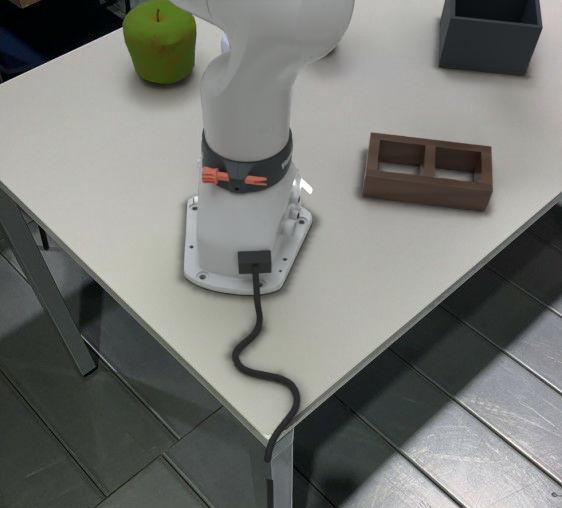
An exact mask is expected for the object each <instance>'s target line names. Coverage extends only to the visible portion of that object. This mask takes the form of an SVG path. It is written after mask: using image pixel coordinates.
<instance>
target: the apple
mask: <svg viewBox="0 0 562 508" xmlns="http://www.w3.org/2000/svg"><path fill="white" fill-rule="evenodd" d="M196 22H197V21H196V19H195V16H194V15H192V14H190V13H188V12H186V11H184V10H182V9H180V8H178V7H177V6H175V5H174V4H173V3H172V2H171V1H169V0H148V1H145V2H142V3H140V4H137V5H136V6H135V7H134V8H132V9H131V10H129V11H128V12H127V14H126V15H125V17H124V19H123V21H122V24H121V26H122V34H123V40H124V44H125V46H126V48H127V51H128V53H129V56H130V58H131V62H132V65H133V69H134V71H135V73H136V74H137V75H138V76H139V77H140V78H141V79H144V80H146V81H148V82H150V83H156V84H160V85H172V84H176V83H178V82H180V81H182V80H183V79H184V78H185V77H187V76H188V75H189V74H191V72H192V71H193V69H194V68H195V64H196V46H197V36H198V35H197V23H196Z"/></svg>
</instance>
